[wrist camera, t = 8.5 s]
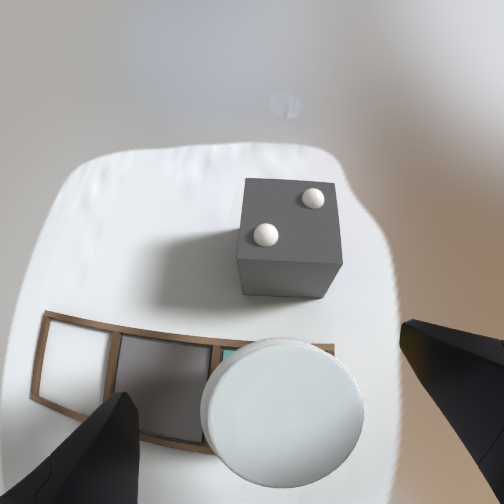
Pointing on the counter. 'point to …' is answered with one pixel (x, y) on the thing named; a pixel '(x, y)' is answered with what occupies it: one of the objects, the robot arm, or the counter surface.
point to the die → (288, 238)
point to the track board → (153, 378)
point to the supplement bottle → (281, 412)
